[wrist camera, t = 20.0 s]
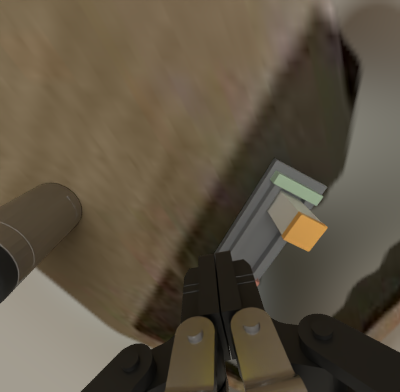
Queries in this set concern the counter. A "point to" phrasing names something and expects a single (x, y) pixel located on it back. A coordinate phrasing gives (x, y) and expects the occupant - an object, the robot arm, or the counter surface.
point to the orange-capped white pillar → (295, 221)
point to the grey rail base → (267, 217)
